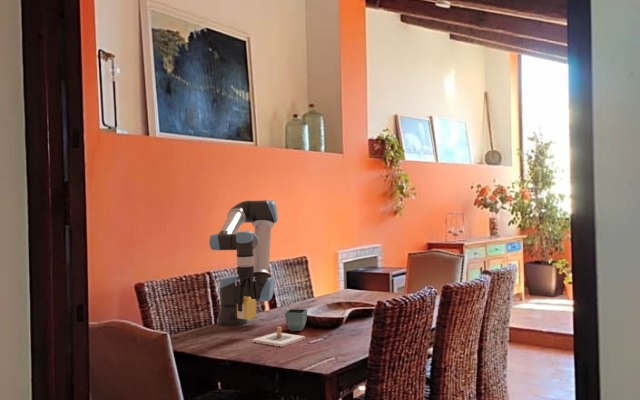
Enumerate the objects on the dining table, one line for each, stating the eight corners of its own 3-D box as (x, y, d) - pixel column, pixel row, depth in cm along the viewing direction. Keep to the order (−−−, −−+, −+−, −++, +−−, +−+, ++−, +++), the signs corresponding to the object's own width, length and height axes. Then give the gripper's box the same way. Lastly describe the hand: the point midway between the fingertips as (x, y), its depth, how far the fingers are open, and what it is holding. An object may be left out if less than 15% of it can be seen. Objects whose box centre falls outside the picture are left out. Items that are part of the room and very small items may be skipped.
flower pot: (284, 331, 270) (284, 312, 270) (290, 327, 278) (289, 308, 278) (303, 332, 268) (302, 313, 268) (307, 328, 276) (307, 309, 276)
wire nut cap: (246, 315, 267) (245, 295, 267) (256, 316, 264) (255, 296, 264) (237, 318, 263) (236, 297, 262) (247, 319, 259) (246, 299, 259)
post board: (276, 334, 264) (276, 322, 264) (305, 339, 255) (304, 326, 255) (253, 342, 251) (252, 328, 251) (282, 347, 242) (281, 333, 242)
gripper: (253, 262, 273) (254, 311, 273) (224, 267, 257) (225, 320, 258) (265, 263, 268) (266, 313, 269) (236, 269, 253) (238, 322, 253)
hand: (246, 316), depth 263 cm, fingers closed on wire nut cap, 6 cm apart
